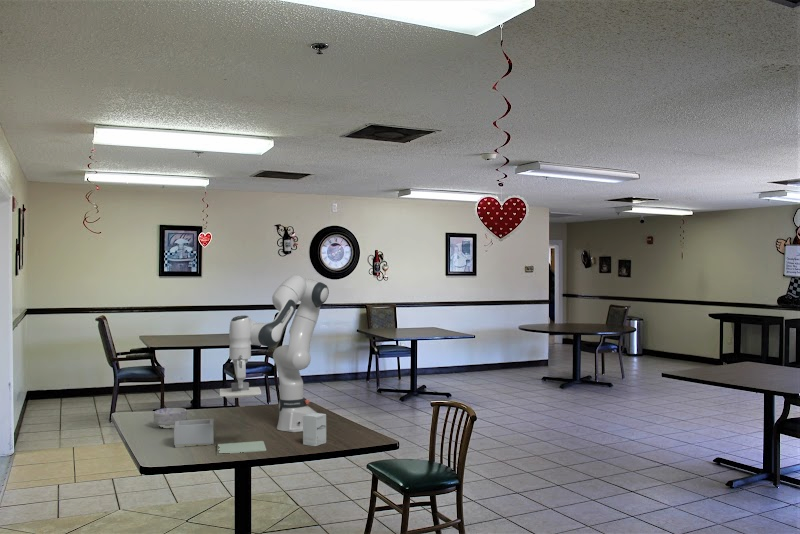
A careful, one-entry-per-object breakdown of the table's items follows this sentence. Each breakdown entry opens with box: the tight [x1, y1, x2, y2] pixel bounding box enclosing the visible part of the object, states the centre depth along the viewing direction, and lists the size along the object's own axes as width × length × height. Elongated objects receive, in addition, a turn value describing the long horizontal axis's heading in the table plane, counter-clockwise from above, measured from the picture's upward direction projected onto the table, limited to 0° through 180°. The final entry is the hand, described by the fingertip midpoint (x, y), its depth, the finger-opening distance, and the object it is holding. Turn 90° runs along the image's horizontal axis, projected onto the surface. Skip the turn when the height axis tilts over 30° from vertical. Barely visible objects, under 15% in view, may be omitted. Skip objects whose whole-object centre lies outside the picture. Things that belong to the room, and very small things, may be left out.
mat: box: [217, 440, 267, 454], centre depth 291 cm, size 20×16×1 cm
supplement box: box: [302, 412, 327, 447], centre depth 297 cm, size 7×7×13 cm
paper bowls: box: [153, 407, 188, 426], centre depth 334 cm, size 15×15×8 cm
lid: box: [219, 381, 262, 399], centre depth 291 cm, size 17×13×5 cm
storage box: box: [173, 418, 215, 445], centre depth 300 cm, size 16×12×9 cm
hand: (240, 387), depth 291 cm, fingers closed on lid, 3 cm apart
